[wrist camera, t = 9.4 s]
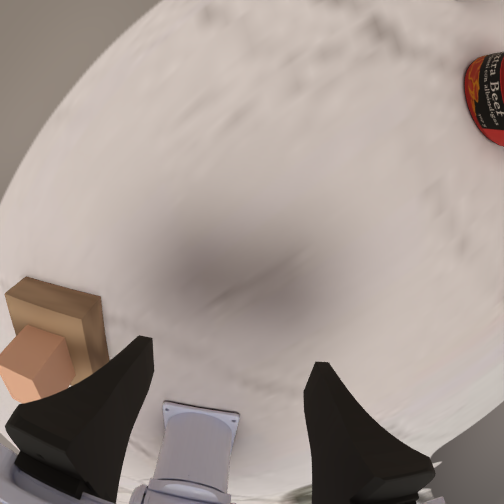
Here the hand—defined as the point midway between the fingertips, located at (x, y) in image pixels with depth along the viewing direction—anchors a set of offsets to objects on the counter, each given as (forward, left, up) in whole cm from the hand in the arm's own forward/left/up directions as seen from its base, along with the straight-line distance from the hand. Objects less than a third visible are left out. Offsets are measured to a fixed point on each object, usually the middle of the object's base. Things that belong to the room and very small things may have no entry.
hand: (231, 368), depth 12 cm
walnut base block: (-9, +16, -10) cm, 21 cm away
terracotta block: (-9, +16, -6) cm, 19 cm away
